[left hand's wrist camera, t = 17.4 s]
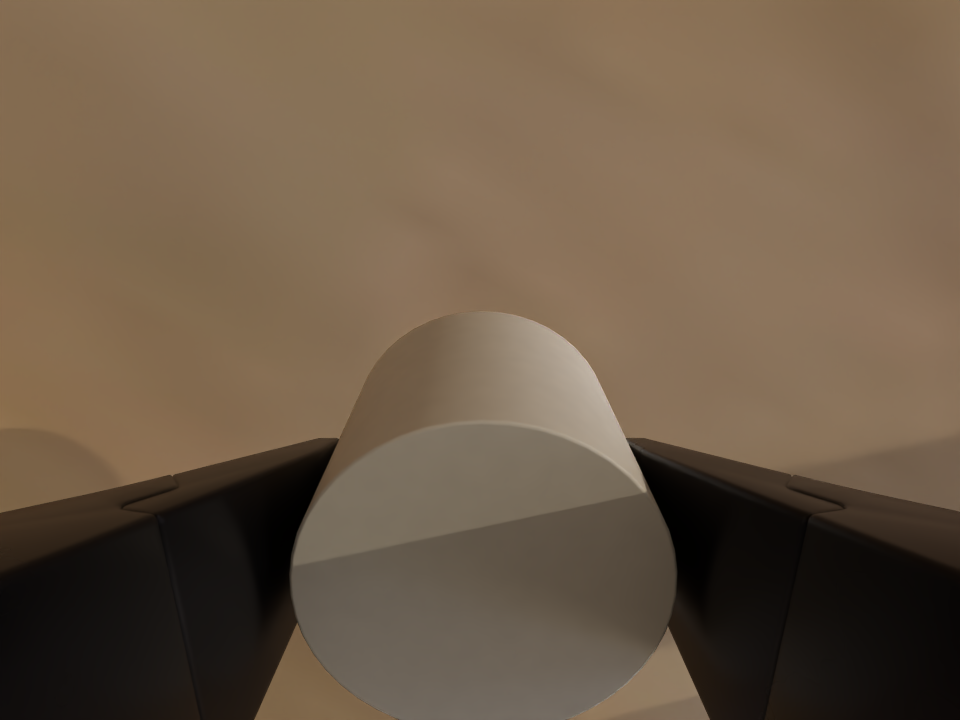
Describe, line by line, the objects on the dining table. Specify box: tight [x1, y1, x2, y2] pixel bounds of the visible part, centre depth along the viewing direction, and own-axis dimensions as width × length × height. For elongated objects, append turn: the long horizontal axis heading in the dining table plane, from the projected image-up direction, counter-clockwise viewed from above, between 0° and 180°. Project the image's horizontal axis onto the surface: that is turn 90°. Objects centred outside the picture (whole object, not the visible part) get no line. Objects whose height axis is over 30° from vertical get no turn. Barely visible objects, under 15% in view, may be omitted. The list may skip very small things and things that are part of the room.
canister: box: [289, 311, 678, 720], centre depth 10 cm, size 5×5×5 cm
